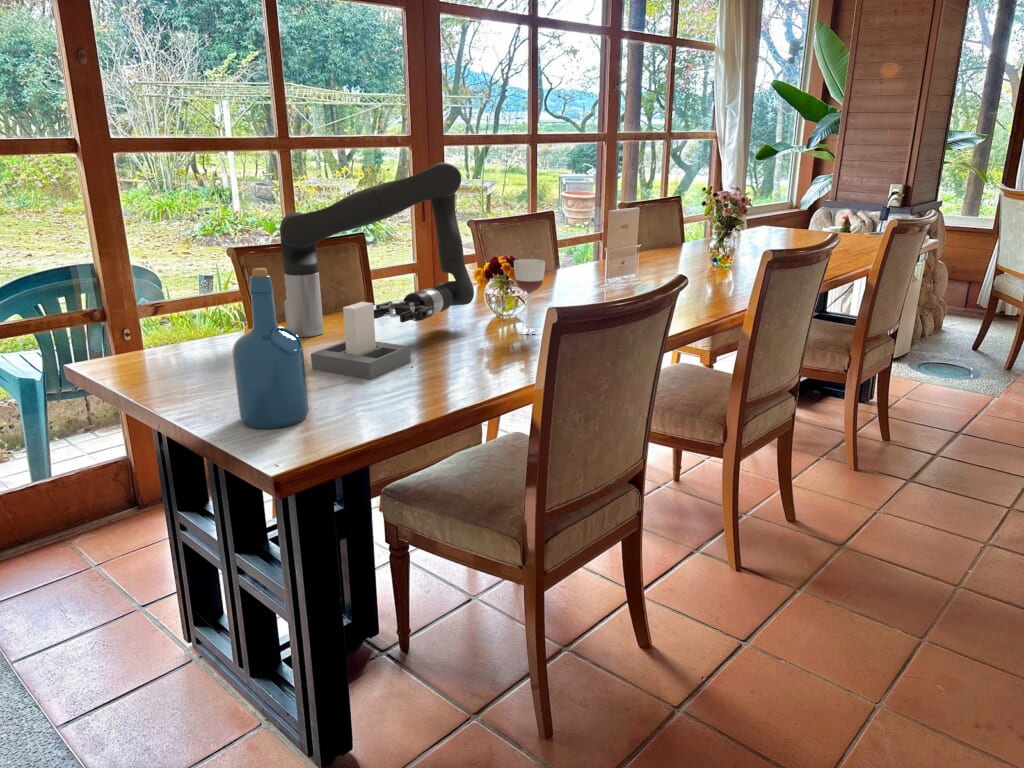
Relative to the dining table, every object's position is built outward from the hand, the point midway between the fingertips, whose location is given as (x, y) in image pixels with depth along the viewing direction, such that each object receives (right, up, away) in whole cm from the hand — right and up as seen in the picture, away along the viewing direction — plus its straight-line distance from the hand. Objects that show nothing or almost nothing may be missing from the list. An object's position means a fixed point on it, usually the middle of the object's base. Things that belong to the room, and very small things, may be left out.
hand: (387, 316), depth 195 cm
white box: (-5, -12, -7) cm, 14 cm away
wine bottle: (-16, -24, -41) cm, 50 cm away
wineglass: (+36, -2, +25) cm, 44 cm away
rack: (-5, -12, -6) cm, 15 cm away
